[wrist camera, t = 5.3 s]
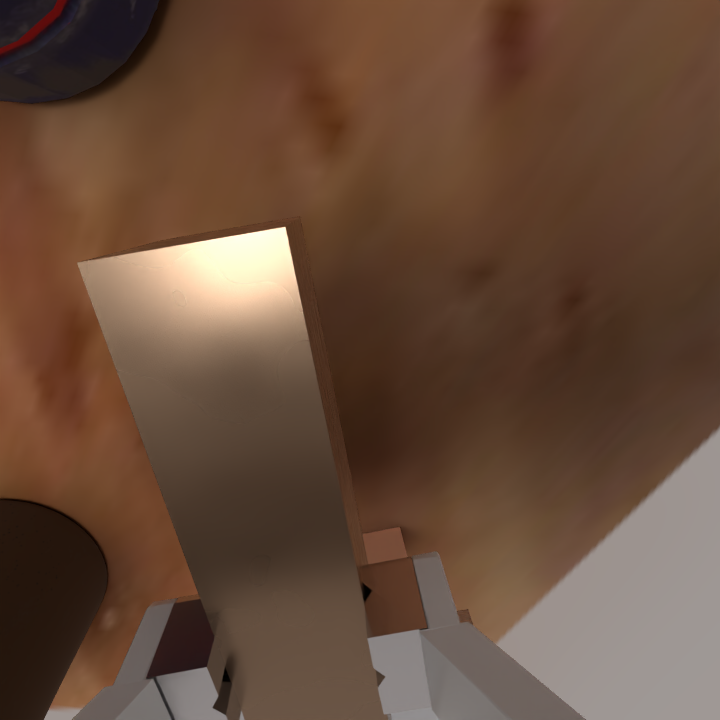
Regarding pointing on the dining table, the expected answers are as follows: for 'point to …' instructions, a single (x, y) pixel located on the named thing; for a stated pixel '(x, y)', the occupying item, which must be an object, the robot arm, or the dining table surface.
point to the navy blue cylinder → (66, 44)
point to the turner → (249, 459)
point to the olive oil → (42, 604)
